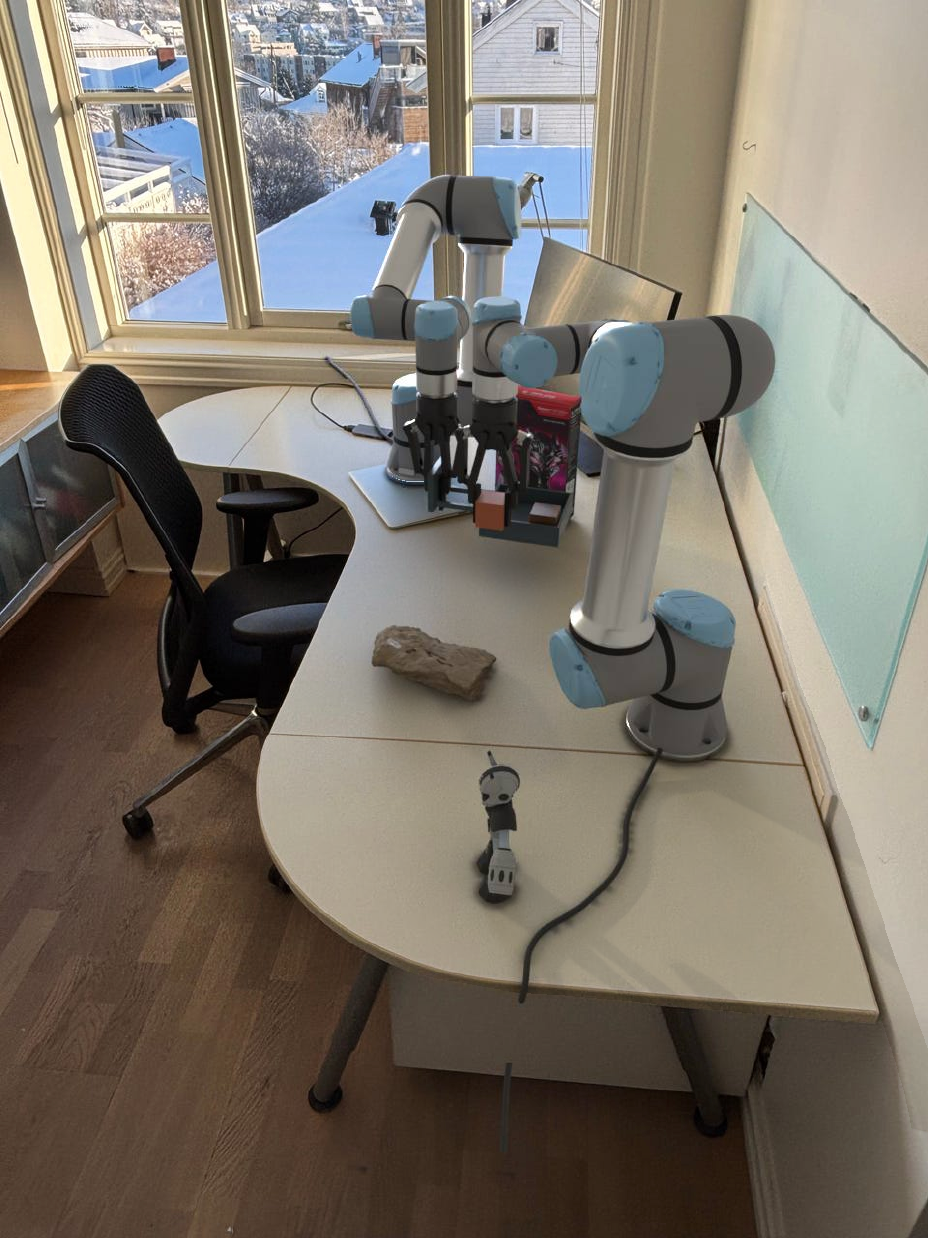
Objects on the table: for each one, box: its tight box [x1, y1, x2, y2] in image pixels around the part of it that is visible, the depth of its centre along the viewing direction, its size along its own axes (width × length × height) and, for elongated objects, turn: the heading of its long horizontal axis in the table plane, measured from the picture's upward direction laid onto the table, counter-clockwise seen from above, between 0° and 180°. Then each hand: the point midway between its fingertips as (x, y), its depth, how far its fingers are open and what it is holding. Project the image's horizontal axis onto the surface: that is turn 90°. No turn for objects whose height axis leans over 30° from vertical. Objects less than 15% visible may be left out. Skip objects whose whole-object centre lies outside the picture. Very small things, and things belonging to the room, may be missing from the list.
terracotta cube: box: [474, 489, 505, 531], centre depth 164 cm, size 5×5×5 cm
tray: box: [427, 456, 574, 548], centre depth 177 cm, size 26×15×10 cm, turn 75°
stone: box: [371, 624, 498, 702], centre depth 153 cm, size 21×15×6 cm
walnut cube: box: [529, 502, 561, 526], centre depth 173 cm, size 5×5×5 cm
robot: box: [475, 750, 521, 904], centre depth 113 cm, size 20×5×20 cm, turn 3°
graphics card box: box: [494, 384, 582, 520], centre depth 195 cm, size 17×7×27 cm, turn 62°
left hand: (437, 506), depth 182 cm, fingers closed on tray
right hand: (492, 521), depth 165 cm, fingers closed on terracotta cube, 5 cm apart
